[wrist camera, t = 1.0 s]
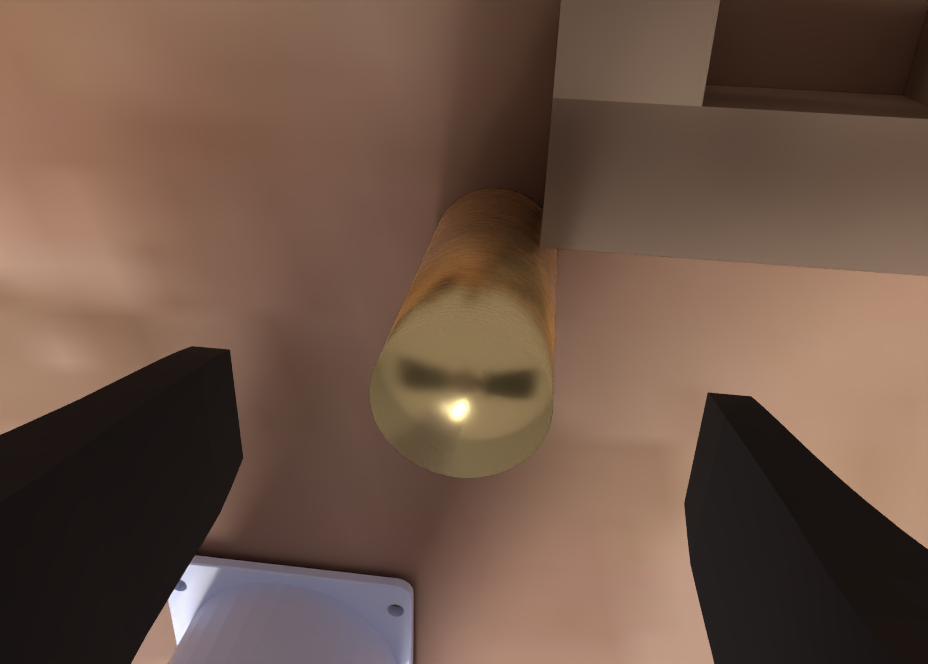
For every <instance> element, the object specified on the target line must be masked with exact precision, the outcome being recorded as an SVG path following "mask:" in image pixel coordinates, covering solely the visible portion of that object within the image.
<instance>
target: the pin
mask: <svg viewBox="0 0 928 664" xmlns="http://www.w3.org/2000/svg"><path fill="white" fill-rule="evenodd" d="M542 219H543V209H541V208H540V207H539V206H538V205H537V204H536V203H535V202H534V201H532V200H531V199H529V198H528V197H526V196H524V195H522V194H520V193H517V192H514V191H511V190H507V189H499V188H490V189H482V190H478V191H474V192H472V193H469V194H467V195H465V196H463V197H461V198H460V199H458V200H457V201H456V202H454V203H453V204H452V205H451V206H450V207H449V208H448V209H447V211H446V212H445V213H444V215H443V216H442V218H441V220H440V222H439V224H438V226H437V228H436V230H435V233H434V235H433V237H432V239H431V242H430V244H429V246H428V248H427V251H426V253H425V255H424V257H423V260H422V262H421V264H420V266H419V269H418V271H417V273H416V275H415V278H414V280H413V282H412V284H411V287H410V289H409V291H408V293H407V296H406V298H405V300H404V302H403V305H402V307H401V309H400V311H399V314H398V316H397V318H396V320H395V323H394V325H393V327H392V329H391V332H390V334H389V336H388V338H387V340H386V343H385V345H384V347H383V349H382V352H381V354H380V356H379V358H378V361H377V363H376V365H375V368H374V370H373V373H372V377H371V381H370V390H369V397H370V406H371V410H372V414H373V417H374V419H375V422H376V424H377V426H378V428H379V430H380V431H381V433H382V435H383V436H384V437H385V439H386V440H387V441H388V443H389V444H390V445H391V446H392V447H393V448H394V449H395V450H396V451H397V452H399V453H400V454H401V455H402V456H404V457H405V458H406V459H408V460H409V461H411V462H412V463H414V464H416V465H418V466H420V467H422V468H424V469H426V470H429V471H432V472H434V473H438V474H442V475H445V476H452V477H460V478H476V477H485V476H490V475H494V474H498V473H501V472H504V471H506V470H508V469H511V468H513V467H514V466H516V465H518V464H520V463H521V462H523V461H524V460H525V459H526V458H528V457H529V456H530V455H531V454H532V453H533V452H534V451H535V450H536V449H537V448H538V446H539V445H540V444H541V442H542V441H543V439H544V437H545V435H546V434H547V432H548V429H549V426H550V423H551V418H552V413H553V382H554V349H555V316H556V282H557V249H553V248H540V243H541V231H542Z"/></svg>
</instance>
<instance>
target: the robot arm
mask: <svg viewBox="0 0 928 664" xmlns="http://www.w3.org/2000/svg"><path fill="white" fill-rule="evenodd" d="M242 460H243V453H242V445H241V437H240V429H239V420H238V412H237V404H236V396H235V388H234V380H233V372H232V364H231V356H230V350H227V349H216V348H205V347H194V346H192V347H189V348H186V349H183V350H181V351H178V352H176V353H173V354H171V355H169V356H167V357H165V358H162V359H160V360H158V361H156V362H154V363H152V364H150V365H148V366H146V367H144V368H142V369H140V370H138V371H136V372H134V373H132V374H130V375H128V376H126V377H124V378H122V379H120V380H118V381H116V382H113V383H111V384H109V385H107V386H105V387H103V388H101V389H99V390H97V391H95V392H93V393H91V394H89V395H87V396H85V397H83V398H81V399H79V400H77V401H75V402H73V403H71V404H68V405H66V406H64V407H62V408H60V409H57V410H55V411H53V412H51V413H48V414H46V415H44V416H42V417H40V418H37V419H35V420H33V421H31V422H29V423H26V424H24V425H22V426H20V427H18V428H15V429H13V430H11V431H9V432H6V433H4V434H1V435H0V664H131V662H132V660H133V659H134V657H135V655H136V653H137V651H138V650H139V648H140V646H141V644H142V642H143V640H144V639H145V637H146V635H147V633H148V632H149V630H150V628H151V627H152V625H153V623H154V622H155V620H156V618H157V617H158V615H159V613H160V612H161V610H162V609H163V607H164V605H165V604H166V602H167V600H168V603H169V608H170V613H171V618H172V623H173V628H174V633H175V638H176V643H177V648H176V650H175V651H174V653H173V655H172V657H171V659H170V661H169V662H168V664H413V608H414V592H413V588H412V586H411V585H410V584H409V583H408V582H406V581H404V580H402V579H398V578H390V577H381V576H372V575H364V574H355V573H346V572H337V571H328V570H320V569H311V568H302V567H293V566H285V565H276V564H267V563H258V562H249V561H241V560H232V559H223V558H214V557H206V556H197V555H195V554H196V553H197V551H198V549H199V548H200V546H201V544H202V543H203V541H204V539H205V538H206V536H207V534H208V533H209V531H210V529H211V528H212V526H213V524H214V522H215V521H216V519H217V517H218V515H219V514H220V512H221V510H222V507H223V505H224V503H225V501H226V498H227V496H228V494H229V492H230V489H231V487H232V485H233V482H234V480H235V477H236V475H237V472H238V470H239V467H240V465H241V462H242ZM684 505H685V516H686V527H687V537H688V546H689V555H690V564H691V568H692V572H693V577H694V581H695V585H696V590H697V594H698V598H699V602H700V606H701V611H702V615H703V619H704V623H705V627H706V631H707V635H708V639H709V643H710V647H711V651H712V655H713V660H714V664H928V549H927V548H925V547H924V546H923V545H921V544H920V543H919V542H917V541H916V540H915V539H913V538H912V537H910V536H909V535H908V534H906V533H905V532H904V531H903V530H901V529H900V528H899V527H897V526H896V525H895V524H894V523H893V522H891V521H890V520H889V519H888V518H886V517H885V516H884V515H883V514H881V513H880V512H879V511H878V510H876V509H875V508H874V507H873V506H872V505H870V504H869V503H868V502H867V501H865V500H864V499H863V498H862V497H861V496H859V495H858V494H857V493H856V492H855V491H854V490H852V489H851V488H850V487H849V486H848V485H847V484H845V483H844V482H843V481H842V480H841V479H840V478H839V477H838V476H836V475H835V474H834V473H833V472H832V471H831V470H830V469H829V468H828V467H827V466H825V465H824V464H823V463H822V462H821V461H820V460H819V459H818V458H817V457H816V456H815V455H813V454H812V453H811V452H810V451H809V450H808V449H807V448H806V447H805V446H804V445H803V444H802V443H801V442H800V441H799V440H798V439H797V438H795V437H794V436H793V435H792V434H791V433H790V432H789V431H788V430H787V429H786V428H785V427H784V426H783V425H782V424H781V423H780V422H779V421H778V420H777V419H776V418H774V417H773V416H772V415H771V414H770V413H769V412H768V411H767V410H766V409H765V408H764V407H763V406H762V405H760V404H759V403H758V402H757V401H756V400H755V399H753V398H752V397H751V396H740V395H729V394H718V393H708V394H707V399H706V404H705V408H704V413H703V418H702V423H701V427H700V432H699V437H698V441H697V446H696V451H695V456H694V460H693V465H692V470H691V474H690V479H689V484H688V488H687V493H686V498H685V503H684ZM181 580H182V581H181ZM393 604H396V605H399V606H401V607H397V606H394V605H393Z"/></svg>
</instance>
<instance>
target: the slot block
mask: <svg viewBox="0 0 928 664" xmlns="http://www.w3.org/2000/svg"><path fill="white" fill-rule="evenodd" d="M719 4H720V0H561V6H560V18H559V30H558V41H557V53H556V65H555V77H554V89H553V101H552V112H551V124H550V136H549V148H548V160H547V172H546V184H545V195H544V207H543V219H542V231H541V243H540V248H553V249H567V250H580V251H594V252H607V253H621V254H634V255H648V256H662V257H675V258H689V259H702V260H716V261H729V262H743V263H756V264H770V265H783V266H797V267H810V268H824V269H837V270H851V271H865V272H878V273H892V274H905V275H919V276H928V12H927V16H926V19H925V23H924V26H923V30H922V33H921V37H920V40H919V44H918V47H917V51H916V54H915V57H914V61H913V64H912V68H911V71H910V75H909V78H908V82H907V85H906V89H905V92H904V95H887V94H869V93H850V92H832V91H813V90H795V89H776V88H758V87H739V86H721V85H706V80H707V74H708V68H709V62H710V57H711V51H712V45H713V39H714V33H715V28H716V22H717V16H718V10H719Z"/></svg>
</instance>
